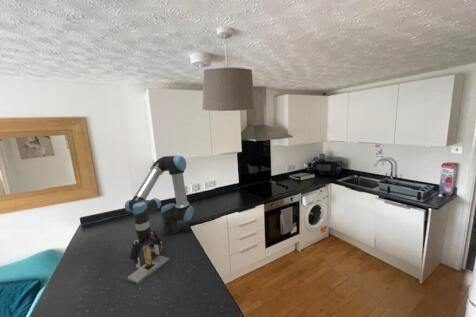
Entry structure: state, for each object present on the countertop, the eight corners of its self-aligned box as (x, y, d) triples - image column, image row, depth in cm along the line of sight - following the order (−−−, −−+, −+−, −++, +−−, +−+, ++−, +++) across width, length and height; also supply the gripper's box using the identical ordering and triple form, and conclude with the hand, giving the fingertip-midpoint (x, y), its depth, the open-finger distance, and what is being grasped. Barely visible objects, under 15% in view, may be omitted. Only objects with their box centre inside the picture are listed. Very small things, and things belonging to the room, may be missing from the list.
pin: (150, 266, 125) (146, 244, 123) (154, 268, 123) (150, 245, 121) (145, 270, 122) (141, 247, 119) (149, 271, 120) (145, 249, 118)
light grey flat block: (150, 263, 128) (149, 260, 128) (160, 266, 124) (159, 263, 123) (127, 280, 114) (127, 277, 114) (138, 284, 110) (137, 281, 110)
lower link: (159, 256, 134) (159, 255, 134) (169, 259, 130) (168, 258, 130) (139, 271, 121) (139, 270, 121) (149, 275, 117) (149, 274, 117)
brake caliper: (141, 254, 134) (143, 235, 140) (147, 255, 144) (148, 238, 150) (159, 251, 136) (159, 233, 142) (163, 253, 145) (164, 235, 151)
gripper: (155, 218, 131) (160, 247, 134) (118, 237, 109) (125, 272, 112) (163, 219, 128) (168, 250, 131) (127, 240, 106) (133, 276, 109)
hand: (148, 260), depth 121 cm, fingers open, 13 cm apart
